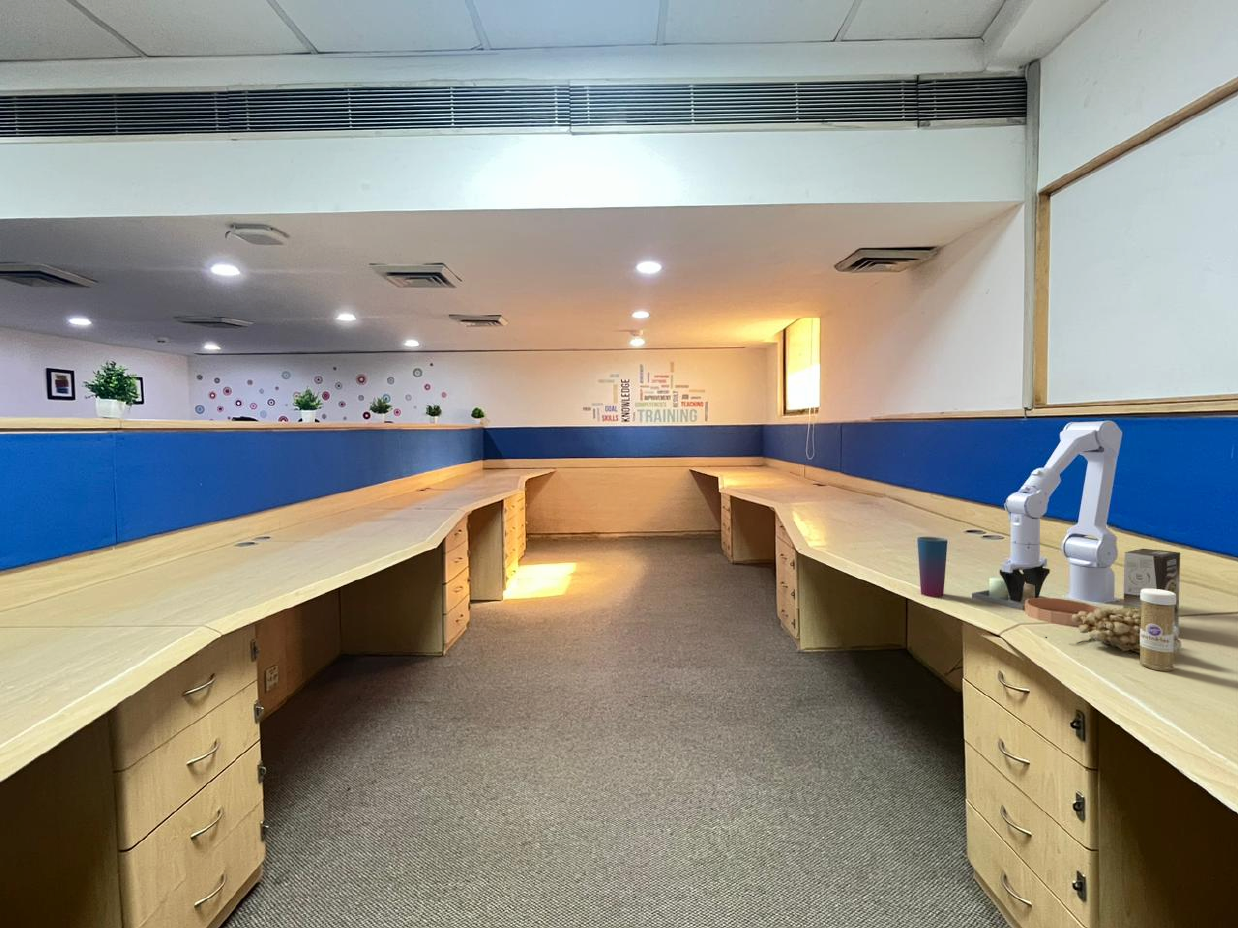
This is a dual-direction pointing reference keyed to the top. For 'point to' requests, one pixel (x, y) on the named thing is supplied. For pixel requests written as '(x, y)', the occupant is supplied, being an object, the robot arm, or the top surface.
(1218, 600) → the top surface
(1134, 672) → the top surface
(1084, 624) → the mineral formation
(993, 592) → the mint green rounded cylinder
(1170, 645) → the sprinkles bottle
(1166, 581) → the coffee box
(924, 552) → the cup
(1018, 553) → the robot arm
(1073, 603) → the bowl
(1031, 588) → the beige rounded cylinder
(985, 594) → the tray
